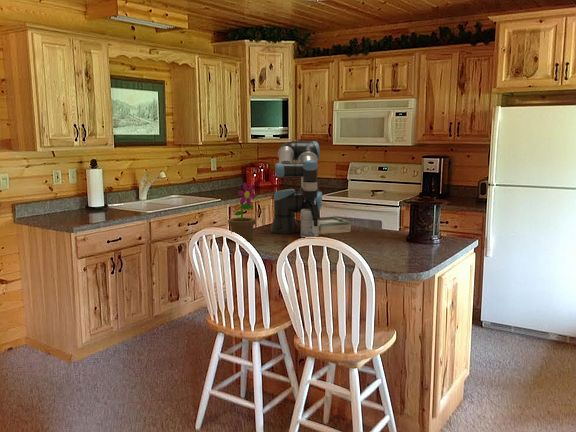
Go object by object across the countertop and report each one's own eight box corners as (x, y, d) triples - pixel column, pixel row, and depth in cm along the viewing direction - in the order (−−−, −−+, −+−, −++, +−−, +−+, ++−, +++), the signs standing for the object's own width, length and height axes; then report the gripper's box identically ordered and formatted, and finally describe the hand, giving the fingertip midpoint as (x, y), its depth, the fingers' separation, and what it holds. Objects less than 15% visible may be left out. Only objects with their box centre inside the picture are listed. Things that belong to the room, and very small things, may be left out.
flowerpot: (241, 243, 272) (240, 183, 267) (222, 239, 282) (221, 181, 277) (261, 239, 282) (261, 181, 278) (243, 235, 292) (242, 179, 287)
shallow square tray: (301, 227, 313) (301, 218, 312) (334, 225, 321) (334, 216, 320) (316, 234, 295) (316, 224, 294) (350, 231, 302) (350, 222, 301)
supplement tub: (308, 234, 295) (309, 207, 292) (322, 236, 288) (322, 209, 286) (296, 237, 288) (296, 209, 285) (310, 239, 281) (310, 211, 279)
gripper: (294, 187, 294) (294, 226, 298) (313, 193, 271) (312, 234, 275) (307, 187, 297) (306, 225, 300) (326, 192, 274) (326, 233, 277)
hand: (309, 230), depth 288 cm, fingers open, 13 cm apart
